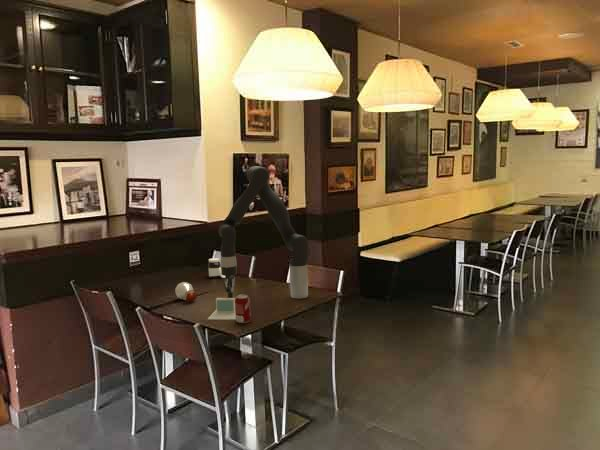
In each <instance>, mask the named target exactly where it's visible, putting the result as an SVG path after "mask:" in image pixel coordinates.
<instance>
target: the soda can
mask: <svg viewBox="0 0 600 450" xmlns="http://www.w3.org/2000/svg"><path fill="white" fill-rule="evenodd" d="M235 313H236V320H235V322H236V323H239V324H247V323H249V322H251V320H252V315H251V299H250V297H249V295H248V294H239V295H236V296H235Z"/></svg>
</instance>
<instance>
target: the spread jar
mask: <svg viewBox="0 0 600 450" xmlns="http://www.w3.org/2000/svg"><path fill="white" fill-rule="evenodd" d="M208 277H209V278H210V279H219V278H218V277H220V278H221V279H225V276H224V275H222V273H221V258H218V257H213V258H209V259H208Z"/></svg>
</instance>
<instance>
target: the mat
mask: <svg viewBox="0 0 600 450" xmlns="http://www.w3.org/2000/svg"><path fill="white" fill-rule="evenodd" d="M207 321H236V313H235V312H217V311H216V309H215V310H214V311H213V312H212V313H211V315H209V316H208V318H207Z"/></svg>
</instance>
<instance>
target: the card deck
mask: <svg viewBox="0 0 600 450" xmlns="http://www.w3.org/2000/svg"><path fill="white" fill-rule="evenodd" d="M235 299H236V297H233V298H228V297H216V298H215V307H216V309H215V310H216V311H217V312H235Z"/></svg>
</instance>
